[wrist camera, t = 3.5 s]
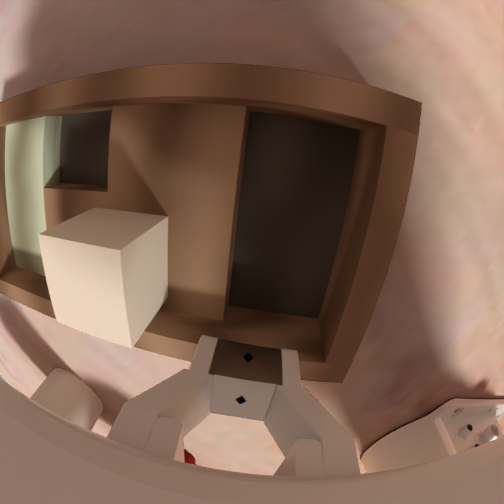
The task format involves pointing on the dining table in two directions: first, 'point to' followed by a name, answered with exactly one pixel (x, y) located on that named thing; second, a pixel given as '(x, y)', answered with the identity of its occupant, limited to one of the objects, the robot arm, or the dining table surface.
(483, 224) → the dining table surface
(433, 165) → the dining table surface
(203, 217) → the box
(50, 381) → the beige cylinder
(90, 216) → the block
